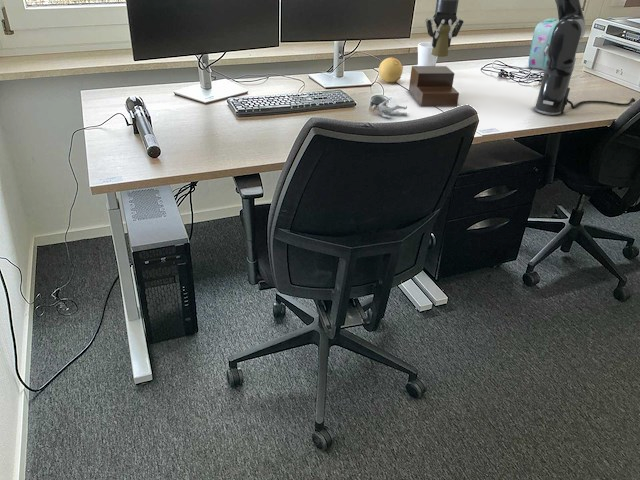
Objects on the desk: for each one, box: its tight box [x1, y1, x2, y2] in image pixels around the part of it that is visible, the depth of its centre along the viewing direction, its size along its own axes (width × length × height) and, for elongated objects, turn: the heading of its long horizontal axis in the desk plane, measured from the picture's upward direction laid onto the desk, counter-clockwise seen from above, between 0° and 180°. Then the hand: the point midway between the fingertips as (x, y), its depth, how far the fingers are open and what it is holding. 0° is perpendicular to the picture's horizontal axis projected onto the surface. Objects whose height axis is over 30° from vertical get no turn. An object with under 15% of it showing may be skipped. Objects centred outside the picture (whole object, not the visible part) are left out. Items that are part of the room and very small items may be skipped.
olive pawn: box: [431, 24, 451, 58], centre depth 197 cm, size 6×6×11 cm
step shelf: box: [408, 65, 460, 107], centre depth 208 cm, size 18×14×10 cm
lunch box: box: [528, 17, 559, 71], centre depth 252 cm, size 27×10×21 cm, turn 147°
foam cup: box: [417, 41, 439, 66], centre depth 233 cm, size 10×9×13 cm
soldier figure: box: [372, 97, 408, 119], centre depth 192 cm, size 8×5×12 cm
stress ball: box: [378, 56, 404, 83], centre depth 224 cm, size 10×10×10 cm
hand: (440, 48), depth 199 cm, fingers closed on olive pawn, 3 cm apart
